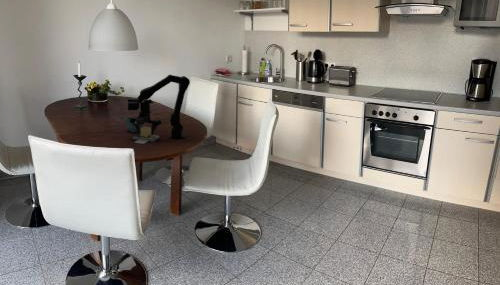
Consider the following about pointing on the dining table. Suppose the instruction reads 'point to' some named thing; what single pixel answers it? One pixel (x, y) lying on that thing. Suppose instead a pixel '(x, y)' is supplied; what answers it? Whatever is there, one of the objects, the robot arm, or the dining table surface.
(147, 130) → the brown wooden block
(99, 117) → the dining table surface
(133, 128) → the flower pot
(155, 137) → the grey flat frame
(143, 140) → the pad
